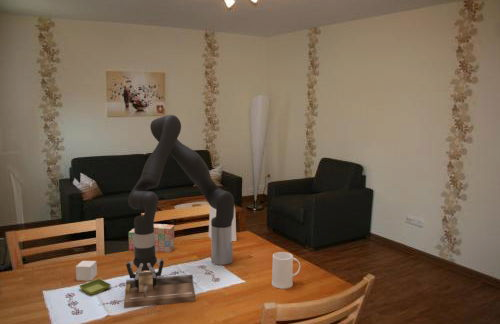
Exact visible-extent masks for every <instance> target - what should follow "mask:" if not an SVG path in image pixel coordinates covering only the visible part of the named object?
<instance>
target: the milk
mask: <svg viewBox="0 0 500 324" xmlns="http://www.w3.org/2000/svg"><path fill="white" fill-rule="evenodd" d="M214 217H216V209H214V208H213V207H211V206H210V205H209V218H208V219H209V220H208V221H209V223H208V224H209V225H208V238H209V237H210V238H211V220H212V219H213V218H214ZM236 222H237V220H236V207H235V206H234V217H233V220H232V241H236V242H237V226H236V225H237V223H236ZM210 238H209V239H210Z"/></svg>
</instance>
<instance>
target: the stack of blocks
mask: <svg viewBox="0 0 500 324" xmlns="http://www.w3.org/2000/svg"><path fill="white" fill-rule="evenodd" d="M154 235H155V253H168V254H169V253H172V251H174V249H175V224H165V223H163V224H162V223H154ZM127 236H128V250H129V251H134V228H132V229H131V230H130V231H128V234H127Z"/></svg>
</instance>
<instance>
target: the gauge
mask: <svg viewBox="0 0 500 324" xmlns="http://www.w3.org/2000/svg"><path fill="white" fill-rule="evenodd" d="M147 291H153V275H152V274H151V272H150V271H141V272H140V275H139V292H144V293H145V298H146V293H147Z"/></svg>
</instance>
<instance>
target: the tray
mask: <svg viewBox="0 0 500 324" xmlns="http://www.w3.org/2000/svg"><path fill="white" fill-rule="evenodd" d="M193 280H194V277H193V274H183V275H171V276H170V275H169V276H157V277H156V286H155V287H153V291H147V293H146V298H145V293H144V292H139V289H137V287H136V286H135V279H134V278H132V279H126V282H125V283H126V284H125V290H124V292H125V294H124V299H123V308H124V309H125V308H127V309H128V308H137V307H145V306H157V305H165V304H166V305H167V304H176V303H177V304H178V303H186V302H187V303H188V302H189V303H190V302H196V293H195V287H194V281H193Z"/></svg>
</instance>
